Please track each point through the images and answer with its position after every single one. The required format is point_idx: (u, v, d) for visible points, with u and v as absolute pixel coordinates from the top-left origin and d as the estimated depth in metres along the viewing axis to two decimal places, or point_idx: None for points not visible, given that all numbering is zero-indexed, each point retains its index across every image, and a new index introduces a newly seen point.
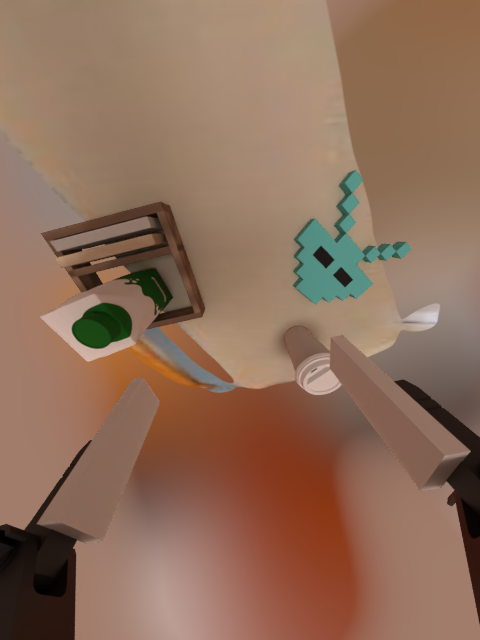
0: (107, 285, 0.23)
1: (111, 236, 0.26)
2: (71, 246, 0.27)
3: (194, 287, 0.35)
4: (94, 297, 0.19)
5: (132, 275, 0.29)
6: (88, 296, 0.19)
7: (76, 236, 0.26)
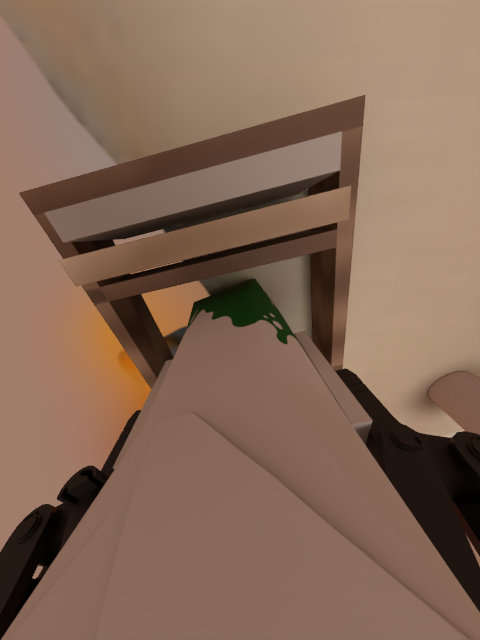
0: (268, 368, 0.06)
1: (219, 198, 0.09)
2: (104, 227, 0.10)
3: None
4: None
5: (253, 303, 0.11)
6: None
7: (120, 197, 0.09)
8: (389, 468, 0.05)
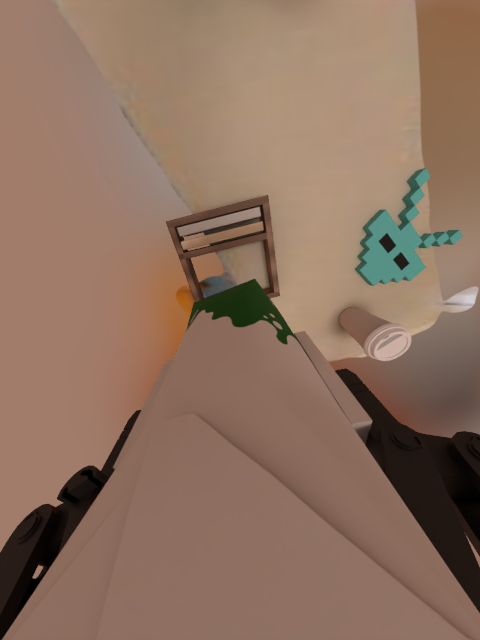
0: (268, 369, 0.06)
1: (227, 223, 0.32)
2: (192, 232, 0.33)
3: None
4: None
5: (253, 303, 0.11)
6: None
7: (199, 223, 0.32)
8: (389, 468, 0.05)
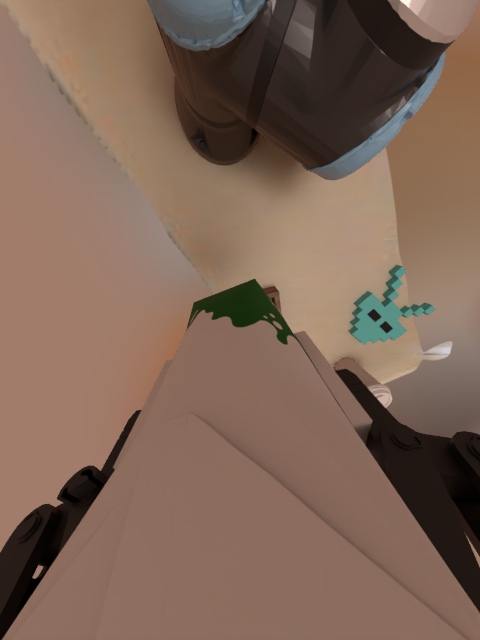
0: (268, 369, 0.06)
1: None
2: None
3: None
4: None
5: (252, 303, 0.11)
6: None
7: None
8: (389, 468, 0.05)
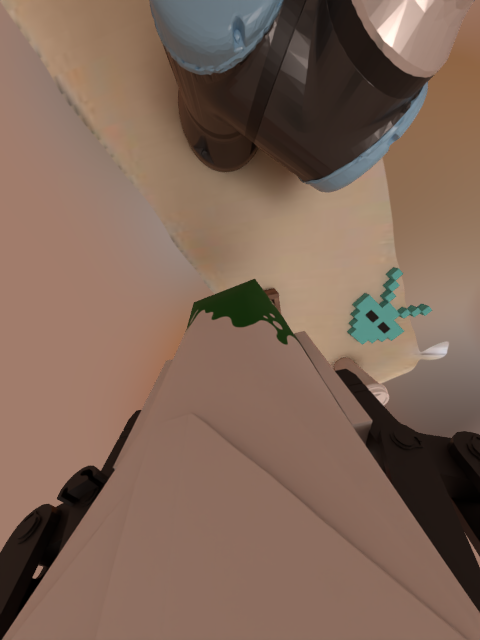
0: (268, 369, 0.06)
1: None
2: None
3: None
4: None
5: (253, 303, 0.11)
6: None
7: None
8: (389, 468, 0.05)
